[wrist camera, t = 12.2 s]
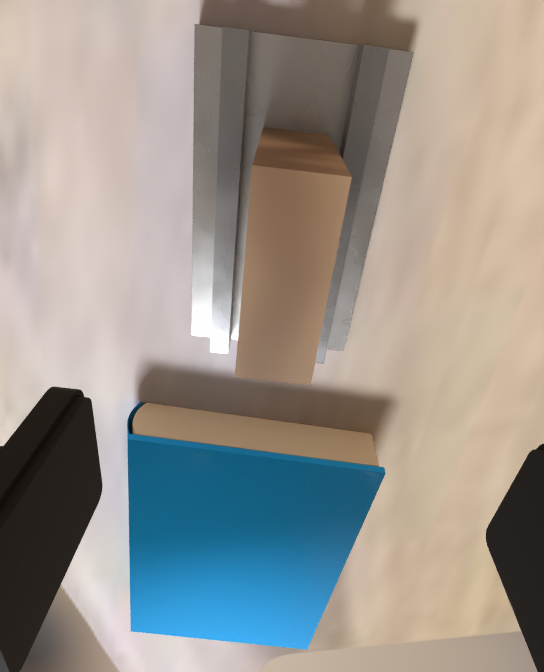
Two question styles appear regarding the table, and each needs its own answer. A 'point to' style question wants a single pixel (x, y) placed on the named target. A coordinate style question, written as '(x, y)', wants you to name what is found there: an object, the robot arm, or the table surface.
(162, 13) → the table surface
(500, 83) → the table surface
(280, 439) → the book
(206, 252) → the floor track
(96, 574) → the table surface
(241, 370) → the door panel
